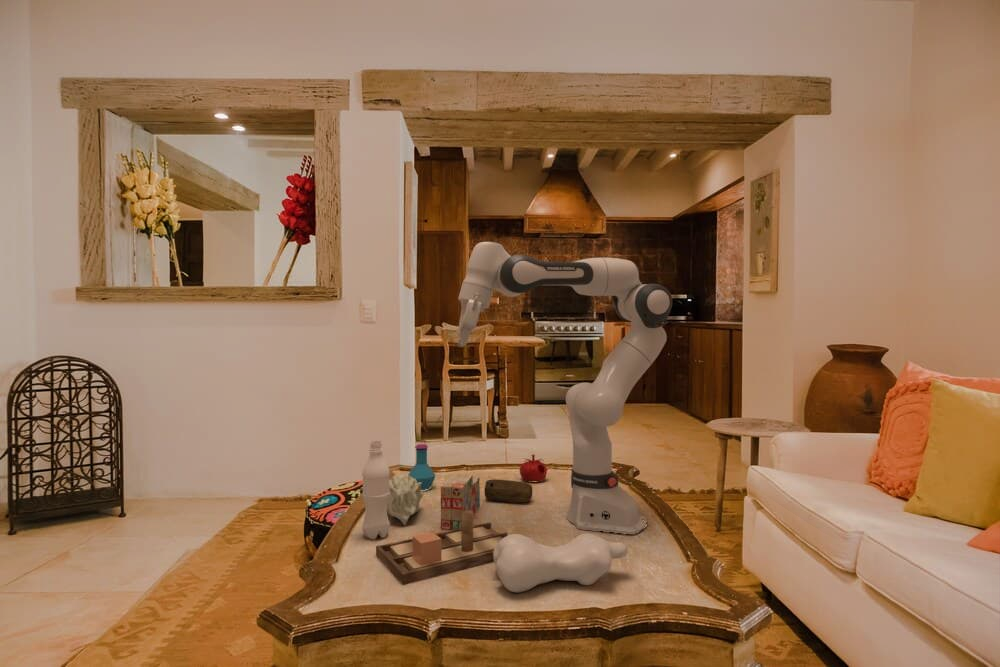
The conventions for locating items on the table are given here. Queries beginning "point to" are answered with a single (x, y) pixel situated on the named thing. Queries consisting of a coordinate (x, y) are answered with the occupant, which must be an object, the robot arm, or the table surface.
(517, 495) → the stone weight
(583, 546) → the torso sculpture
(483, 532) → the broken strip
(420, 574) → the board
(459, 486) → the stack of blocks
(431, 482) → the perfume bottle
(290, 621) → the table surface
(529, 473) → the pomegranate
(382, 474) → the water bottle
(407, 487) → the wavy plaster lump
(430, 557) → the terracotta cube
